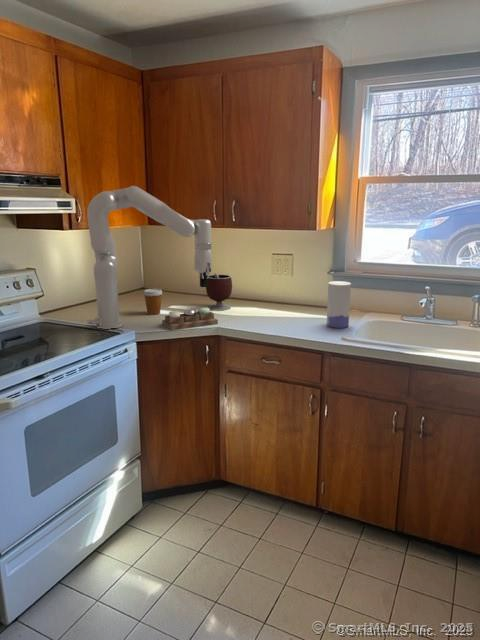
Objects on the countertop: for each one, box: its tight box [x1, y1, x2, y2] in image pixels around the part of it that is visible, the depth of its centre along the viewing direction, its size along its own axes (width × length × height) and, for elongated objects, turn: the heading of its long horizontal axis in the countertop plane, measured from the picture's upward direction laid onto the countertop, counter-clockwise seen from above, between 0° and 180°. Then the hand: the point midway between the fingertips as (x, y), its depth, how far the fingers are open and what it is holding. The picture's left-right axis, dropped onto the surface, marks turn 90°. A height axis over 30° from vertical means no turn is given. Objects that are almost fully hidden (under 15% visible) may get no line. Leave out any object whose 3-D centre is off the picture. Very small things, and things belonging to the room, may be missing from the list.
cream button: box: [168, 310, 181, 319], centre depth 217 cm, size 5×5×2 cm
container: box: [326, 280, 352, 329], centre depth 217 cm, size 10×10×20 cm
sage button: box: [198, 307, 211, 315], centre depth 224 cm, size 5×5×2 cm
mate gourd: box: [205, 273, 233, 312], centre depth 250 cm, size 16×14×20 cm
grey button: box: [183, 309, 196, 317], centre depth 220 cm, size 5×5×2 cm
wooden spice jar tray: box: [161, 311, 219, 331], centre depth 221 cm, size 23×12×4 cm, turn 119°
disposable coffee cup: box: [142, 288, 163, 316], centre depth 240 cm, size 10×10×12 cm
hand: (203, 286), depth 221 cm, fingers closed
